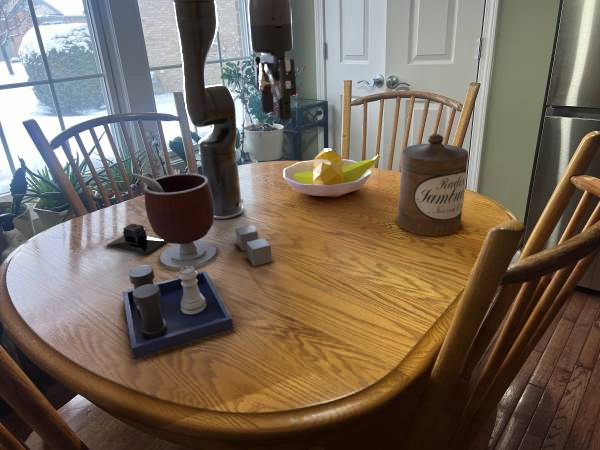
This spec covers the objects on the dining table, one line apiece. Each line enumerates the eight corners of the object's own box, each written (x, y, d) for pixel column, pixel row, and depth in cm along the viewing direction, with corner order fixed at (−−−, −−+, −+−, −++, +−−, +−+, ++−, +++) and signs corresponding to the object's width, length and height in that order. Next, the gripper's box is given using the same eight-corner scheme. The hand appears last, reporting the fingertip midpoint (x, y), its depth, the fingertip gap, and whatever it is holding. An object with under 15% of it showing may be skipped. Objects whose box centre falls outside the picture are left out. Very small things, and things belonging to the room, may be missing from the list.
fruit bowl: (266, 196, 130) (263, 159, 125) (315, 171, 150) (314, 138, 145) (348, 214, 115) (348, 172, 110) (391, 183, 135) (393, 147, 130)
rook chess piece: (183, 302, 79) (176, 264, 76) (208, 300, 80) (202, 262, 76) (179, 317, 75) (171, 277, 72) (205, 315, 76) (198, 275, 72)
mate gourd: (220, 238, 104) (209, 157, 96) (220, 267, 92) (208, 176, 84) (153, 246, 102) (136, 163, 94) (144, 276, 90) (124, 184, 82)
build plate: (167, 242, 104) (164, 224, 102) (146, 256, 98) (142, 237, 96) (128, 234, 109) (124, 217, 107) (105, 247, 103) (101, 229, 101)
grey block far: (236, 244, 102) (235, 228, 100) (253, 240, 103) (251, 224, 101) (242, 251, 98) (240, 235, 97) (259, 246, 100) (257, 231, 98)
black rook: (136, 307, 79) (127, 268, 75) (159, 301, 80) (151, 262, 77) (139, 319, 75) (129, 279, 72) (162, 312, 77) (154, 273, 74)
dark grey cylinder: (141, 328, 73) (131, 287, 70) (165, 321, 74) (157, 281, 71) (144, 342, 70) (133, 300, 66) (169, 334, 71) (160, 293, 68)
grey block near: (248, 258, 95) (246, 242, 93) (265, 254, 96) (263, 237, 95) (254, 266, 92) (252, 249, 90) (271, 261, 93) (270, 245, 91)
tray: (125, 303, 81) (122, 291, 80) (207, 281, 87) (206, 270, 86) (135, 362, 66) (131, 348, 65) (233, 331, 72) (232, 318, 71)
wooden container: (423, 241, 98) (431, 145, 89) (385, 218, 111) (389, 132, 102) (474, 228, 104) (486, 136, 95) (432, 207, 116) (440, 124, 107)
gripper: (238, 24, 82) (246, 112, 88) (264, 22, 70) (271, 124, 77) (275, 23, 84) (280, 108, 91) (307, 20, 73) (310, 119, 79)
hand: (276, 115), depth 84 cm, fingers open, 8 cm apart
